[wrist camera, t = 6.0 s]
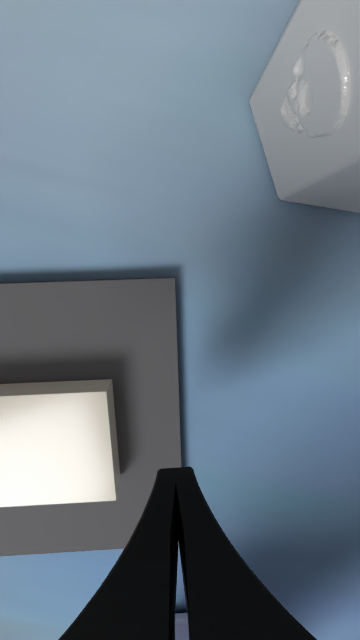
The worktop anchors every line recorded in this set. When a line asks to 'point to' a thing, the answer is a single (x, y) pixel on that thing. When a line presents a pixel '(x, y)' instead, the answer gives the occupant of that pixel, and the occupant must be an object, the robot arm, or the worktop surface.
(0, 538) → the mat
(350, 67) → the jar
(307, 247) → the worktop surface
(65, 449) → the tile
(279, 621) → the robot arm
